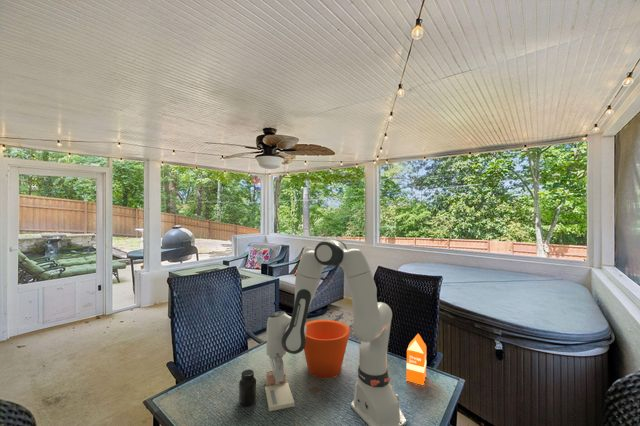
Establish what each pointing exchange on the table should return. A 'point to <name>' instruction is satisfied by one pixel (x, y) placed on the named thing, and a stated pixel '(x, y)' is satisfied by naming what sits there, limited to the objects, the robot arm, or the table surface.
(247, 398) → the supplement bottle
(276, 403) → the cream flat block
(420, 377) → the orange juice
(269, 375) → the pink box
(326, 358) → the flowerpot
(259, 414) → the table surface
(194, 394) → the table surface
